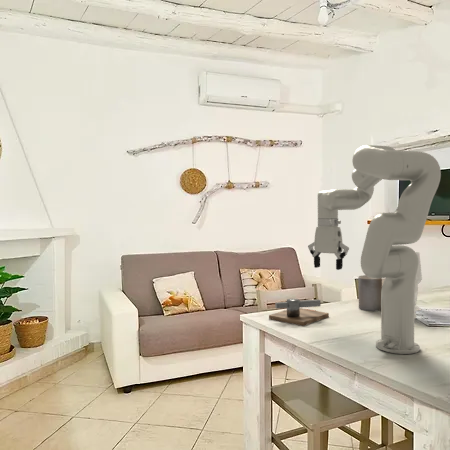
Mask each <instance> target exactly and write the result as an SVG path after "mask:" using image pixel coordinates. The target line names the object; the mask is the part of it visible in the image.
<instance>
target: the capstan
mask: <svg viewBox="0 0 450 450" xmlns="http://www.w3.org/2000/svg"><path fill="white" fill-rule="evenodd" d="M321 303H322V302H321V299H305V300H304V299H303V300H300V299H298V298H287V299H286V301H283V302H282V301H281V302H278V301H277V302H275V306H274V307H275V309H286V310H287V316H290V317H298V316H300V308H302V309H303V308H316V307H317V308H318V307H321V306H322V305H321Z"/></svg>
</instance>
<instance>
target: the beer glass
mask: <svg viewBox="0 0 450 450" xmlns="http://www.w3.org/2000/svg"><path fill="white" fill-rule="evenodd" d="M418 286H419V284H418V283H417V279H415V299H414V320H416V319H417V311H416V310H415V308H416V306H417V301H418V296H419V287H418Z"/></svg>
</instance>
